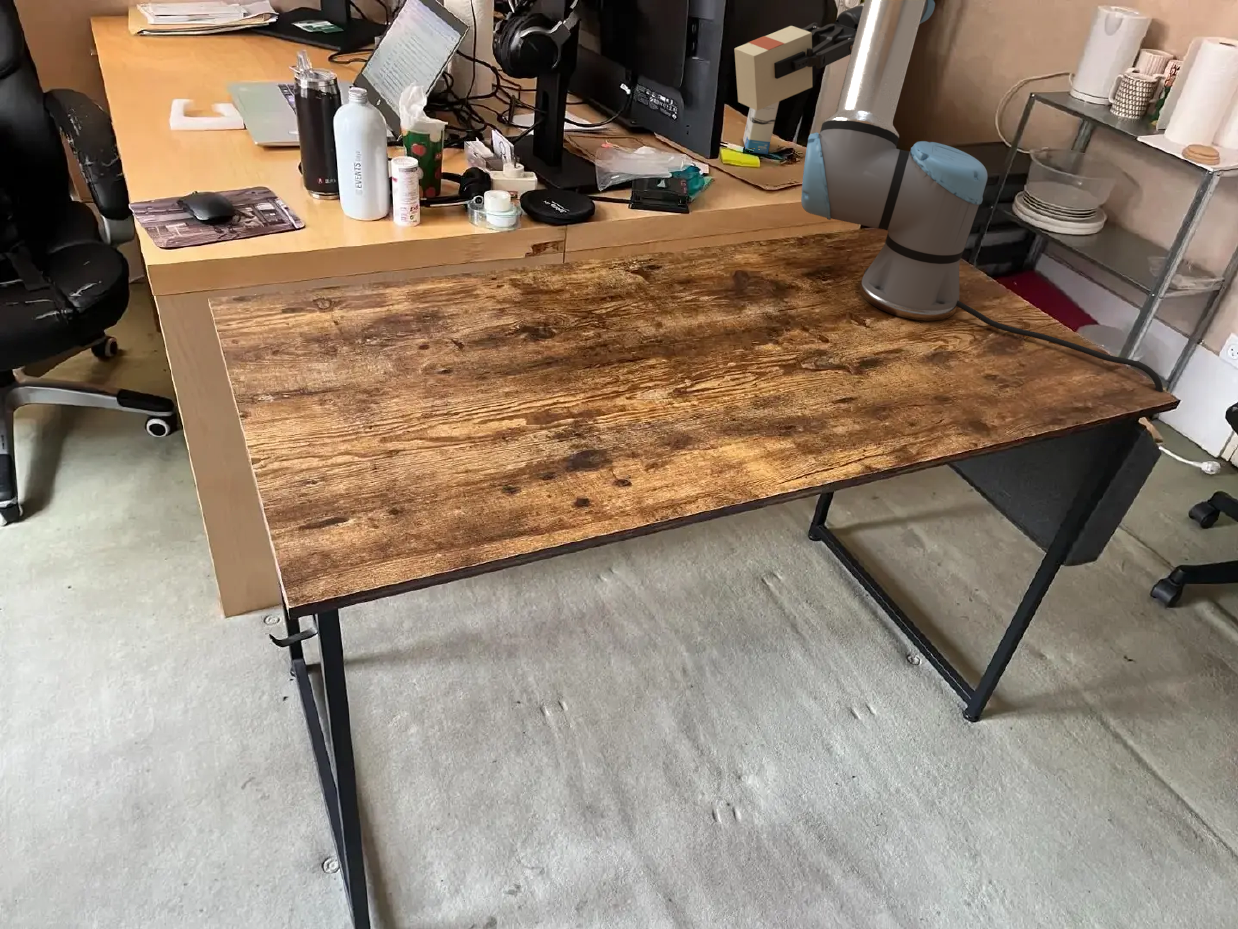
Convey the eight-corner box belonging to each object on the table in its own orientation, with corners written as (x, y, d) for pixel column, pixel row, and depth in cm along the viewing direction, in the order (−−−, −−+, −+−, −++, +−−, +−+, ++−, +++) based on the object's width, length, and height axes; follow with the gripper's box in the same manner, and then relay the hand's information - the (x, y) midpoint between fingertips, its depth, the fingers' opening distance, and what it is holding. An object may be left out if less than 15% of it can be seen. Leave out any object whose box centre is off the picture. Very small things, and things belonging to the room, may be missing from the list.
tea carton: (792, 78, 175) (791, 24, 168) (812, 86, 171) (811, 31, 164) (738, 101, 172) (734, 47, 165) (757, 110, 168) (753, 55, 161)
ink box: (768, 155, 193) (780, 98, 186) (745, 152, 193) (757, 95, 186) (764, 142, 200) (776, 86, 193) (742, 139, 200) (753, 83, 193)
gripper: (896, 57, 169) (797, 100, 163) (829, 35, 182) (736, 73, 176) (898, 15, 164) (796, 57, 158) (829, -5, 177) (733, 34, 171)
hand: (764, 66), depth 167 cm, fingers closed on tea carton, 6 cm apart
